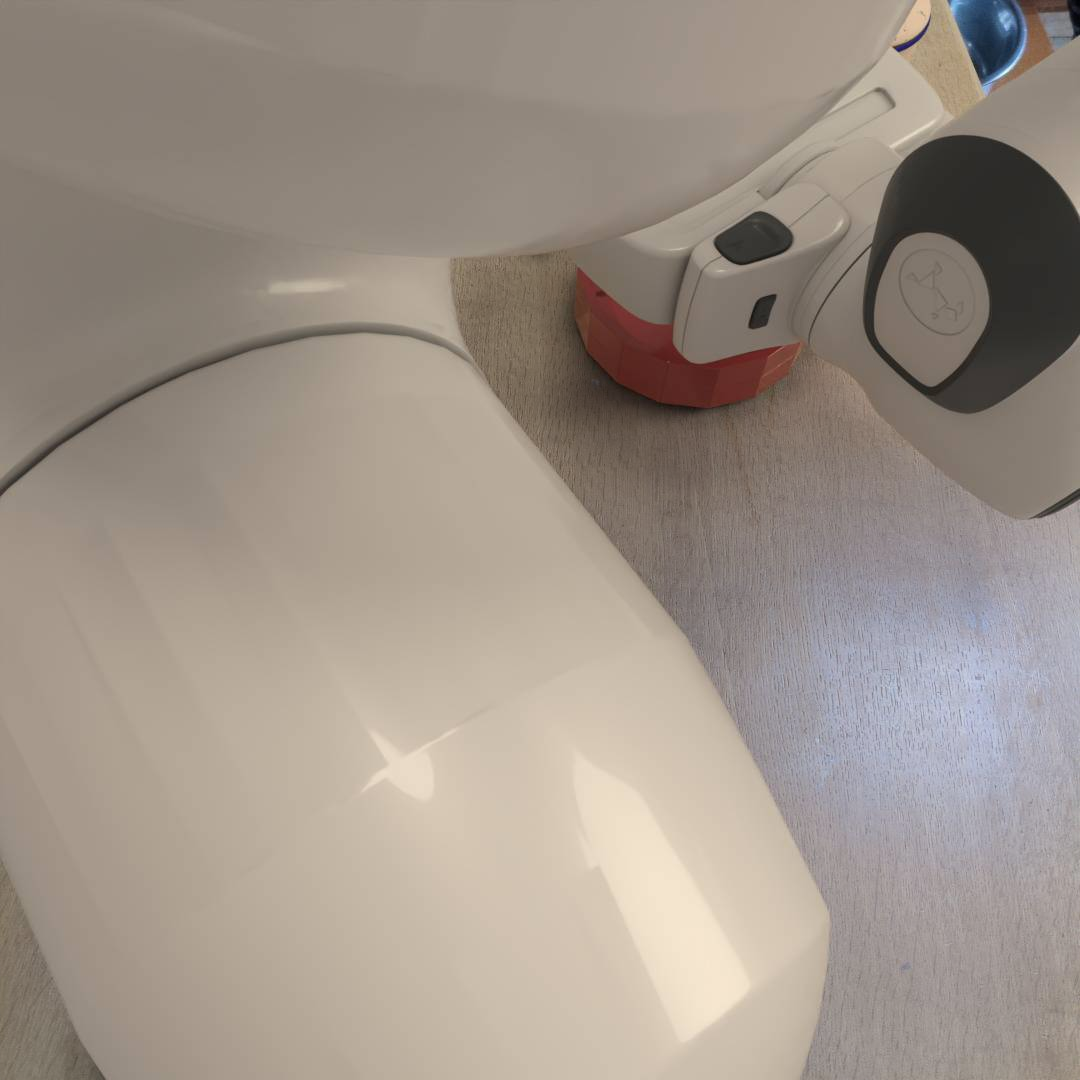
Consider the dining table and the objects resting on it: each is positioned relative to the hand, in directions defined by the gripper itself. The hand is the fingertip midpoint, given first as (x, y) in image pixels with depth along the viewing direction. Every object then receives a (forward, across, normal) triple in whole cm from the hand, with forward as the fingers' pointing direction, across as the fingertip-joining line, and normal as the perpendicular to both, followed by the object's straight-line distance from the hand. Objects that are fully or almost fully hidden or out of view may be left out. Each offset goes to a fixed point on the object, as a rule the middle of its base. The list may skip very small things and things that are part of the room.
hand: (652, 74), depth 53 cm
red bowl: (-6, 0, +14) cm, 15 cm away
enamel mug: (+3, -18, +14) cm, 23 cm away
